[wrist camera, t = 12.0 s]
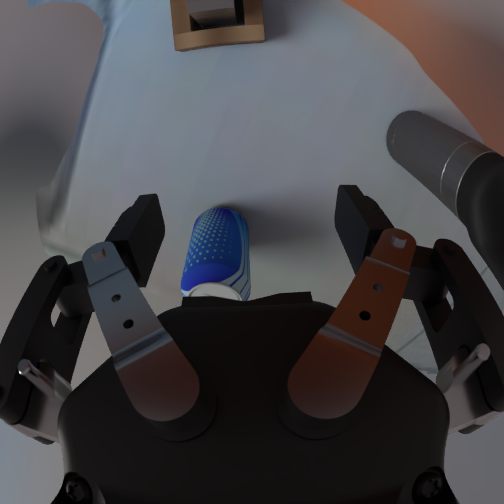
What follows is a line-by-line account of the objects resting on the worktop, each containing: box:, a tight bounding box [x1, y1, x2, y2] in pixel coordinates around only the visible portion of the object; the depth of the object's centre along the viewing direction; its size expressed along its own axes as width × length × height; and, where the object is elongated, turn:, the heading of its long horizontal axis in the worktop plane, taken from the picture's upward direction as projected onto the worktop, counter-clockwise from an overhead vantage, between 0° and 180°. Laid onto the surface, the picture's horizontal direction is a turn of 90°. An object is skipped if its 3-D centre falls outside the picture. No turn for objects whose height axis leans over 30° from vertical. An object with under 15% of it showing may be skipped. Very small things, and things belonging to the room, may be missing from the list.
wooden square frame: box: [170, 0, 265, 52], centre depth 22 cm, size 10×10×4 cm
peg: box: [187, 0, 237, 28], centre depth 20 cm, size 4×4×11 cm
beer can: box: [181, 208, 251, 301], centre depth 38 cm, size 8×8×16 cm
